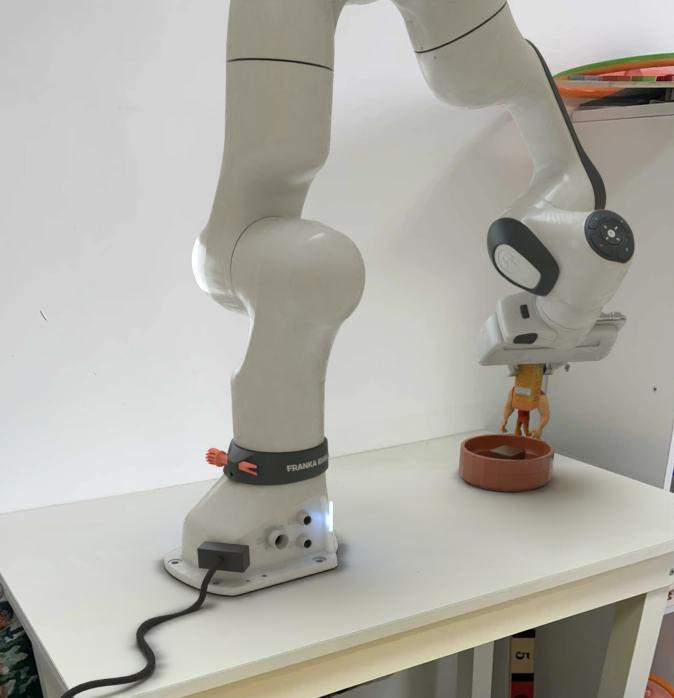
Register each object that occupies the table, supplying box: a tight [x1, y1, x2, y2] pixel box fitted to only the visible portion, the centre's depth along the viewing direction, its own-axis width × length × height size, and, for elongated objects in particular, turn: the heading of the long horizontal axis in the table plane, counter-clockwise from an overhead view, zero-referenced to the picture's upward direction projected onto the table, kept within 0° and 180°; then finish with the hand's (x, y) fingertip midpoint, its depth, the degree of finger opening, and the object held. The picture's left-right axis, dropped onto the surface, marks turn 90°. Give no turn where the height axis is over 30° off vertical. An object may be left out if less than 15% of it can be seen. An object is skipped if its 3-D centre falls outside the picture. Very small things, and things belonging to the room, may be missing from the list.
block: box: [489, 445, 526, 460], centre depth 135 cm, size 4×4×4 cm
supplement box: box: [512, 363, 545, 412], centre depth 132 cm, size 3×3×10 cm
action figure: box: [499, 386, 551, 439], centre depth 145 cm, size 10×4×15 cm, turn 37°
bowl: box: [458, 433, 555, 492], centre depth 136 cm, size 14×14×5 cm
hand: (527, 372), depth 133 cm, fingers closed on supplement box, 4 cm apart
